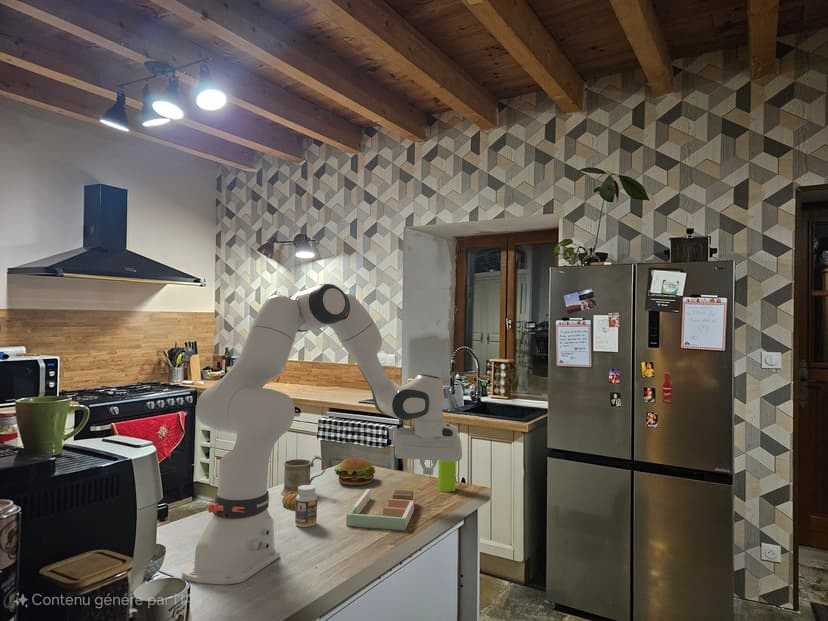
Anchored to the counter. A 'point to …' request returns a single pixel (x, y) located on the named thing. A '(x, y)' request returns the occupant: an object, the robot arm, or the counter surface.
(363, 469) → the food
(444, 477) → the soap dispenser
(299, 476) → the mug
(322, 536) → the counter surface
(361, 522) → the box
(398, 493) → the block
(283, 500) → the pastry
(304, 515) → the pill bottle
